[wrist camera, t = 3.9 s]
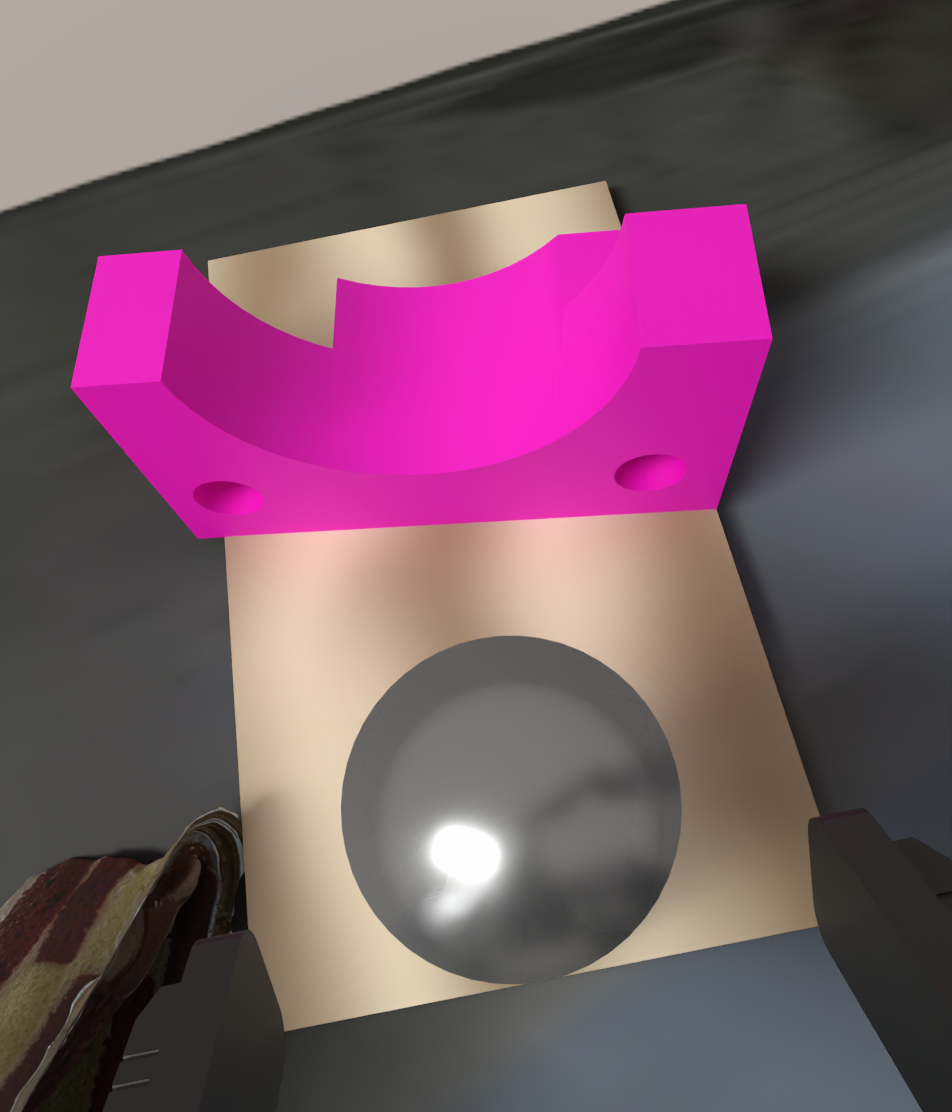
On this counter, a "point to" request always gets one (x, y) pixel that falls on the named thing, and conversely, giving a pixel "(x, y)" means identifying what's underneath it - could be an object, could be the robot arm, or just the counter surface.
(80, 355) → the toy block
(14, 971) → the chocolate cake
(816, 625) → the counter surface
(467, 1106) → the counter surface
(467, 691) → the beige piece
